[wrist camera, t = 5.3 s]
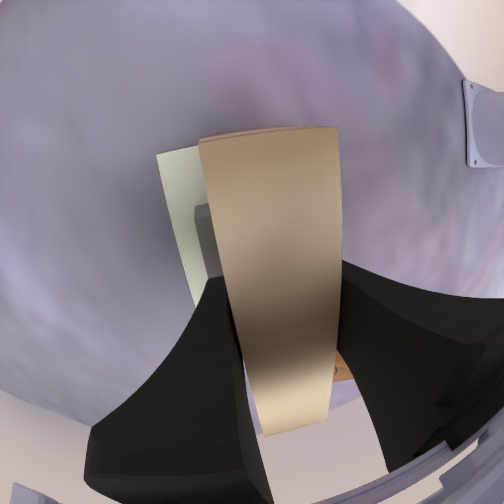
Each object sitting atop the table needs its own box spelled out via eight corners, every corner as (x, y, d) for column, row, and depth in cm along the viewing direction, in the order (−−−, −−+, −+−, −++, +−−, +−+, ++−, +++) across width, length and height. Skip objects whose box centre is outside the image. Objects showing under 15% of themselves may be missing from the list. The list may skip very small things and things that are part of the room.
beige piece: (296, 350, 15) (326, 419, 11) (246, 363, 15) (264, 437, 10) (277, 126, 10) (337, 126, 5) (199, 138, 9) (197, 143, 5)
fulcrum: (298, 130, 14) (318, 131, 12) (309, 279, 19) (326, 303, 16) (158, 154, 14) (147, 159, 11) (196, 303, 18) (196, 332, 15)
